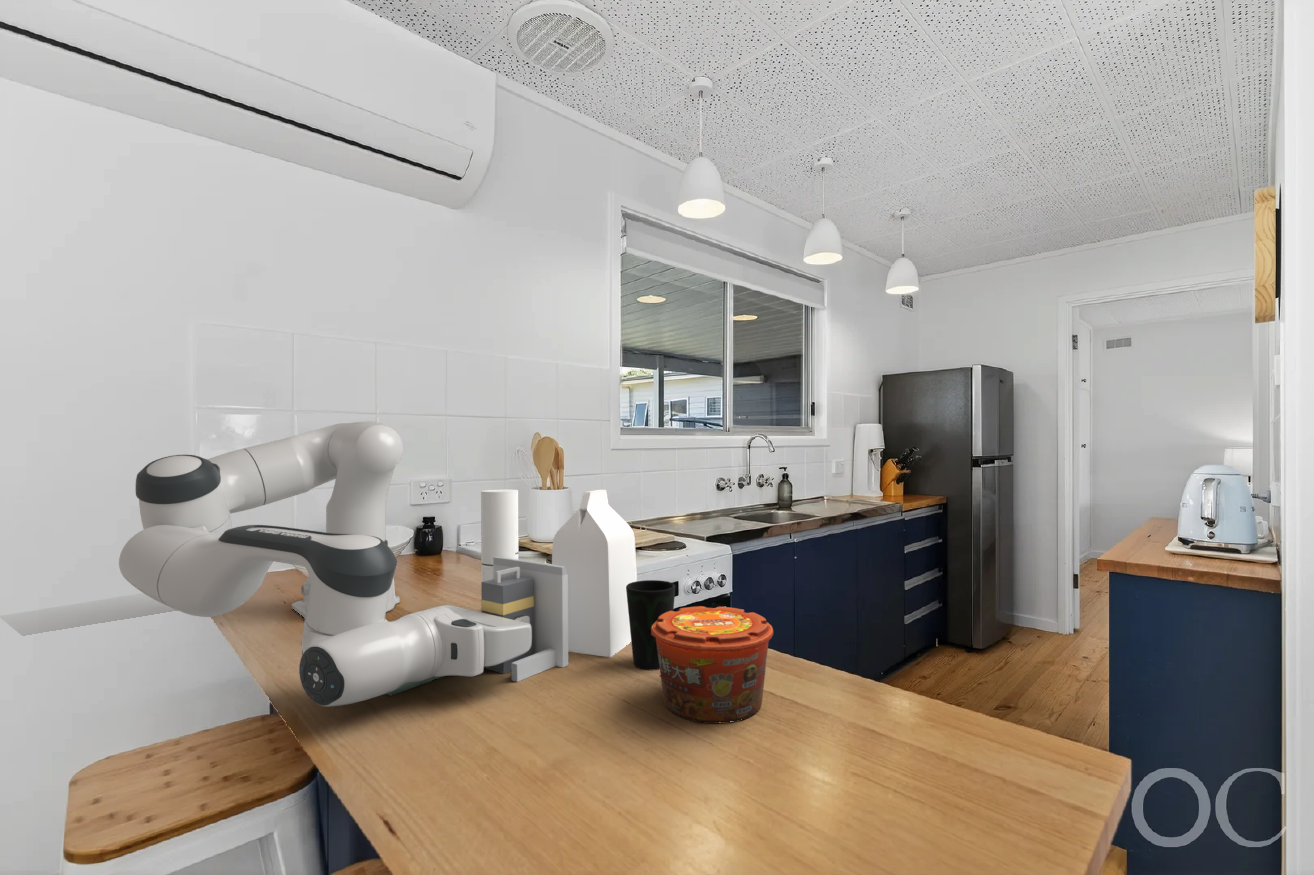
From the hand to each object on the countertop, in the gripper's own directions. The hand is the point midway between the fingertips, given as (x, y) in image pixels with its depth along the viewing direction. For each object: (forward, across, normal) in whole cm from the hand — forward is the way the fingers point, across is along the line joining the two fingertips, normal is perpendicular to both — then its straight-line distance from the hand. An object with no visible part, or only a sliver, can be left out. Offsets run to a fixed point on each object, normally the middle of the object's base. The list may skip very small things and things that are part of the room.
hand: (512, 617), depth 95 cm
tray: (-11, -11, -7) cm, 17 cm away
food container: (+5, +33, -7) cm, 34 cm away
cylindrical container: (+16, -22, -7) cm, 28 cm away
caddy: (-1, 0, -7) cm, 7 cm away
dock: (-1, 0, -7) cm, 7 cm away
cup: (+12, +18, -7) cm, 23 cm away
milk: (+15, +4, -7) cm, 17 cm away
